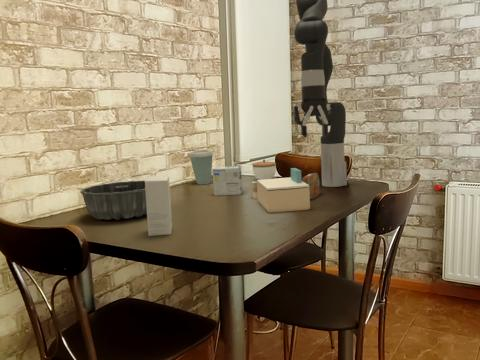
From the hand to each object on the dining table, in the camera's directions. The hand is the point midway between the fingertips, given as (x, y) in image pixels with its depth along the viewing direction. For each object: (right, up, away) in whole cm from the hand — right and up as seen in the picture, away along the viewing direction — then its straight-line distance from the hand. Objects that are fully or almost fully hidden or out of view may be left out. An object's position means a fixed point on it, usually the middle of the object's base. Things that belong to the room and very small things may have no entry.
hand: (314, 136), depth 161 cm
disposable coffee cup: (-42, -16, +62) cm, 76 cm away
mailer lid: (-11, -16, +2) cm, 19 cm away
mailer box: (-10, -23, +3) cm, 25 cm away
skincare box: (-47, -29, -23) cm, 60 cm away
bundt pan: (-64, -26, +3) cm, 69 cm away
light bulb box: (-29, -20, +31) cm, 47 cm away
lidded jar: (-13, -15, +61) cm, 65 cm away
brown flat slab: (+1, -21, +15) cm, 26 cm away
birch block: (-18, -21, +20) cm, 34 cm away
